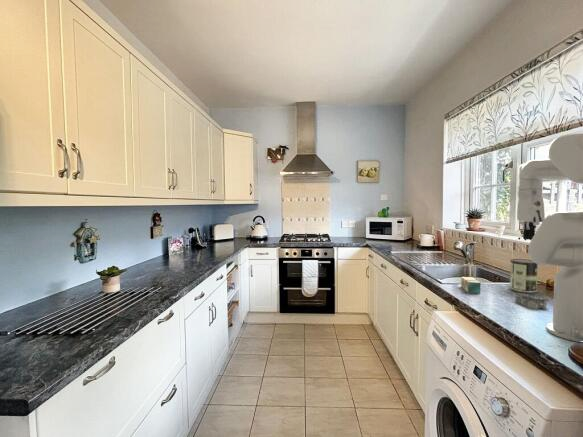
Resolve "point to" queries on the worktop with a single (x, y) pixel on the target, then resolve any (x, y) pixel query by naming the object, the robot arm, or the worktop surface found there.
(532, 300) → the egg carton
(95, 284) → the worktop surface
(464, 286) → the maple block
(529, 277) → the coffee can
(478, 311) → the worktop surface
